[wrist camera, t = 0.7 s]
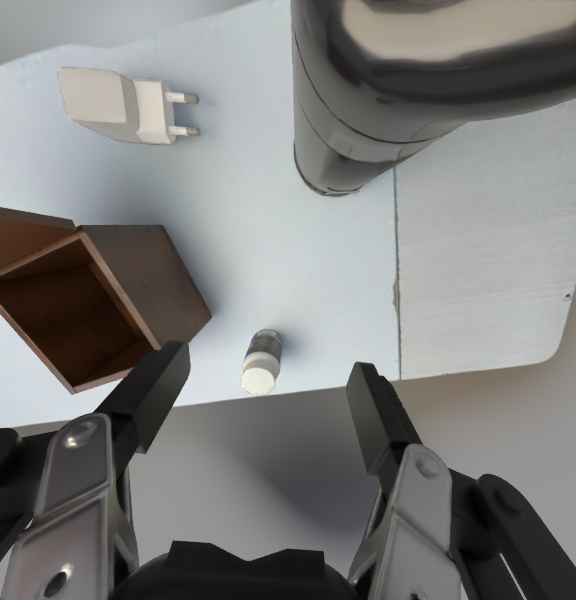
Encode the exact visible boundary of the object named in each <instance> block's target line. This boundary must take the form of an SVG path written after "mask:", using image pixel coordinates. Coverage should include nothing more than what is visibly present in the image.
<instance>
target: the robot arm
mask: <svg viewBox="0 0 576 600" xmlns="http://www.w3.org/2000/svg"><path fill="white" fill-rule="evenodd" d="M291 32H292V64H293V94H294V132H295V139H294V159H295V164H296V168H297V170H298V173H299V175H300V177H301V178H302V180H303V181H304V183H305V184H306V185H307V186H308V187H309V188H310V189H311V190H313V191H314V192H316V193H318V194H320V195H323V196H327V197H341V196H345V195H348V194H350V193H358V192H359V191H356V190H357V189H359V188H360V187H362V186H363V185H364V184H366V183H368V182H369V181H371V180H373V179H374V178H376V177H378V176H379V175H381V174H382V173H384V172H386V171H387V170H389V169H391V168H392V167H394V166H396V165H397V164H399V163H401V162H402V161H404V160H406V159H407V158H409V157H411V156H412V155H414V154H416V153H417V152H419V151H421V150H422V149H424V148H425V147H427V146H429V145H430V144H432V143H433V142H435V141H437V140H438V139H440V138H442V137H443V136H445V135H447V134H448V133H450V132H452V131H453V130H455V129H457V128H458V127H460V126H462V125H463V124H465V123H467V122H472V121H481V120H491V119H499V118H505V117H511V116H516V115H521V114H525V113H530V112H534V111H537V110H541V109H544V108H548V107H552V106H555V105H557V104H560V103H563V102H566V101H569V100H572V99H575V98H576V0H291ZM190 367H191V365H190V355H189V346H188V342H186V341H178V340H168V341H167V342H166V343H165V345H164V346H163V347H162V348H161V349H160V350H153V351H152V352H150V353H148V354H147V355H145V356H144V357H142V358H141V360H140V361H139V362H138V363H137V364H136V365H135V366H134V369H132V370H131V371H130V372H129V373H128V374H127V376H126V377H124V379H123V380H122V381H121V382H120V383H119V384H118V385H117V386H116V387H115V389H114V390H113V391H112V392H111V393H110V394H109V395H108V396H107V397H106V399H105V400H104V401H103V402H102V403H101V404H100V405H99V406H98V408H97V409H96V410H95V411H94V412H93V413H89V414H86V415H82V416H80V417H78V418H76V419H74V420H72V421H70V422H69V423H67V424H66V425H64V426H63V427H62V428H61V429H60V430H58V431H54V432H48V433H43V434H38V435H33V436H28V437H23V438H21V437H20V436H19V435H18V433H17V432H16V431H15V430H13V429H11V428H0V562H1V560H2V559H3V557H4V556H5V555H6V553H7V552H8V550H9V549H10V548H11V547H12V545H13V544H14V546H13V549H12V552H11V556H10V560H9V564H8V568H7V572H6V577H5V581H4V585H3V589H2V593H1V597H0V600H461V582H462V584H463V587H464V589H465V591H466V594H467V597H468V599H469V600H524V599H523V597H522V596H521V593H520V592H519V590H518V588H517V586H516V584H515V582H514V580H513V578H512V577H511V575H510V573H509V571H508V569H507V567H506V565H505V563H504V562H503V560H502V558H501V556H500V554H501V553H502V555H503V557H504V558H505V560H506V562H507V564H508V566H509V567H510V569H511V571H512V573H513V575H514V577H515V579H516V580H517V582H518V584H519V586H520V588H521V589H522V591H523V593H524V595H525V597H526V599H527V600H576V567H575V566H574V564H573V563H572V561H571V560H570V559H569V557H568V556H567V554H566V553H565V552H564V550H563V549H562V548H561V546H560V545H559V543H558V542H557V541H556V539H555V538H554V536H553V535H552V534H551V532H550V531H549V529H548V528H547V527H546V525H545V524H544V523H543V521H542V520H541V518H540V517H539V516H538V514H537V513H536V511H535V510H534V509H533V507H532V506H531V505H530V503H529V502H528V501H527V500H526V498H525V497H524V496H523V495H522V494H521V493H520V492H519V491H518V490H517V489H516V488H514V487H513V486H512V485H510V484H509V483H508V482H507V481H505V480H503V479H502V478H500V477H498V476H495V475H492V474H484V475H482V476H481V477H480V478H479V479H478V480H475V479H473V478H470V477H468V476H466V475H463V474H461V473H459V472H456V471H454V470H452V469H450V468H448V467H447V466H446V465H445V463H444V462H443V461H442V459H441V458H440V457H439V456H438V455H437V454H436V453H435V452H433V451H432V450H430V449H429V448H427V447H425V446H424V445H423V444H422V442H421V440H420V438H419V436H418V434H417V432H416V430H415V428H414V426H413V424H412V422H411V421H410V419H409V417H408V415H407V413H406V411H405V409H404V407H402V403H401V401H400V399H399V398H398V396H397V393H396V392H395V390H394V388H393V386H392V385H391V383H389V381H388V380H387V379H386V378H385V377H384V376H379V374H378V372H377V370H376V368H375V366H374V365H373V364H372V363H364V362H356V363H355V364H354V366H353V369H352V372H351V374H350V377H349V380H348V382H347V387H346V392H347V393H346V394H347V399H348V403H349V406H350V410H351V414H352V418H353V421H354V425H355V429H356V433H357V436H358V440H359V444H360V448H361V451H362V455H363V459H364V462H365V466H366V469H367V474H368V475H373V476H378V477H379V480H380V484H381V485H380V486H379V489H378V492H377V495H376V498H375V501H374V505H373V508H372V511H371V514H370V517H369V521H368V524H367V527H366V530H365V533H364V537H363V540H362V542H361V544H360V547H359V549H358V551H357V553H356V555H355V558H354V560H353V562H352V565H351V568H350V571H349V574H348V577H347V580H346V579H345V578H344V577H343V576H342V575H341V574H340V573H339V572H337V571H336V570H335V569H333V568H332V567H331V566H329V565H327V564H325V561H324V552H323V551H313V550H299V549H285V550H282V551H279V552H276V553H273V554H270V555H267V556H264V557H261V558H258V559H255V560H252V561H245V560H242V559H241V558H239V557H237V556H235V555H233V554H231V553H229V552H227V551H225V550H223V549H221V548H219V547H217V546H215V545H213V544H211V543H200V542H187V541H173V542H172V545H171V548H170V551H169V552H168V553H165V554H163V555H160V556H158V557H156V558H154V559H152V560H150V561H149V562H147V563H146V564H144V565H142V566H141V567H140V568H139V556H138V548H137V541H136V536H135V532H134V527H133V520H132V506H131V493H130V480H129V467H128V463H129V461H130V460H131V458H132V456H133V455H134V453H141V454H146V453H147V451H148V449H149V447H150V445H151V444H152V442H153V440H154V438H155V436H156V434H157V433H158V431H159V429H160V427H161V426H162V424H163V422H164V420H165V418H166V416H167V415H168V413H169V411H170V409H171V408H172V406H173V404H174V402H175V400H176V399H177V397H178V395H179V393H180V391H181V390H182V388H183V386H184V384H185V382H186V381H187V379H188V376H189V373H190ZM32 518H33V521H32V523H31V525H30V527H29V528H27V529H25V528H26V527H27V525H28V524H29V522H30V521H31V520H32ZM24 529H25V530H24ZM450 554H451V556H450ZM451 557H452V558H451Z"/></svg>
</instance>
